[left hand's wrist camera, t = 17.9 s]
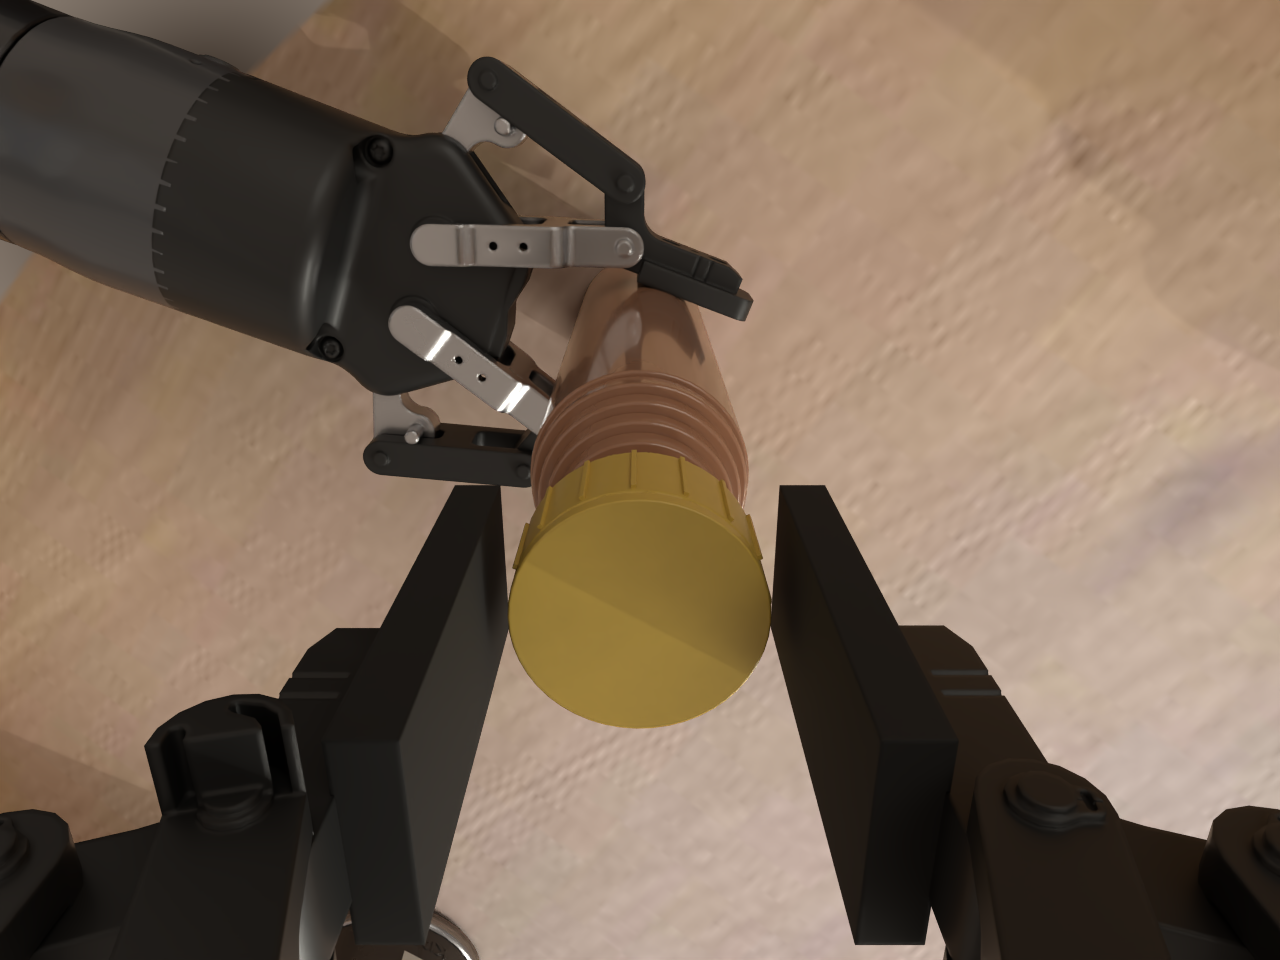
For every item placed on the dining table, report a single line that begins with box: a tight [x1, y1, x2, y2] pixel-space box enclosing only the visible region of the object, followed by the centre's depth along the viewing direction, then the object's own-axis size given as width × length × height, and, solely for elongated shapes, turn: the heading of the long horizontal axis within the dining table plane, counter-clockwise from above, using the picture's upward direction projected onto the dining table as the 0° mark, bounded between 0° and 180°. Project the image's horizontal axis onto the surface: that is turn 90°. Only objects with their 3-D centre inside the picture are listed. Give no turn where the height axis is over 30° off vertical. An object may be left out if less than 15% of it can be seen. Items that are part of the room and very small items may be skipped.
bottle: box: [530, 268, 749, 509], centre depth 24 cm, size 5×5×23 cm
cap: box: [508, 450, 772, 729], centre depth 14 cm, size 4×4×2 cm
